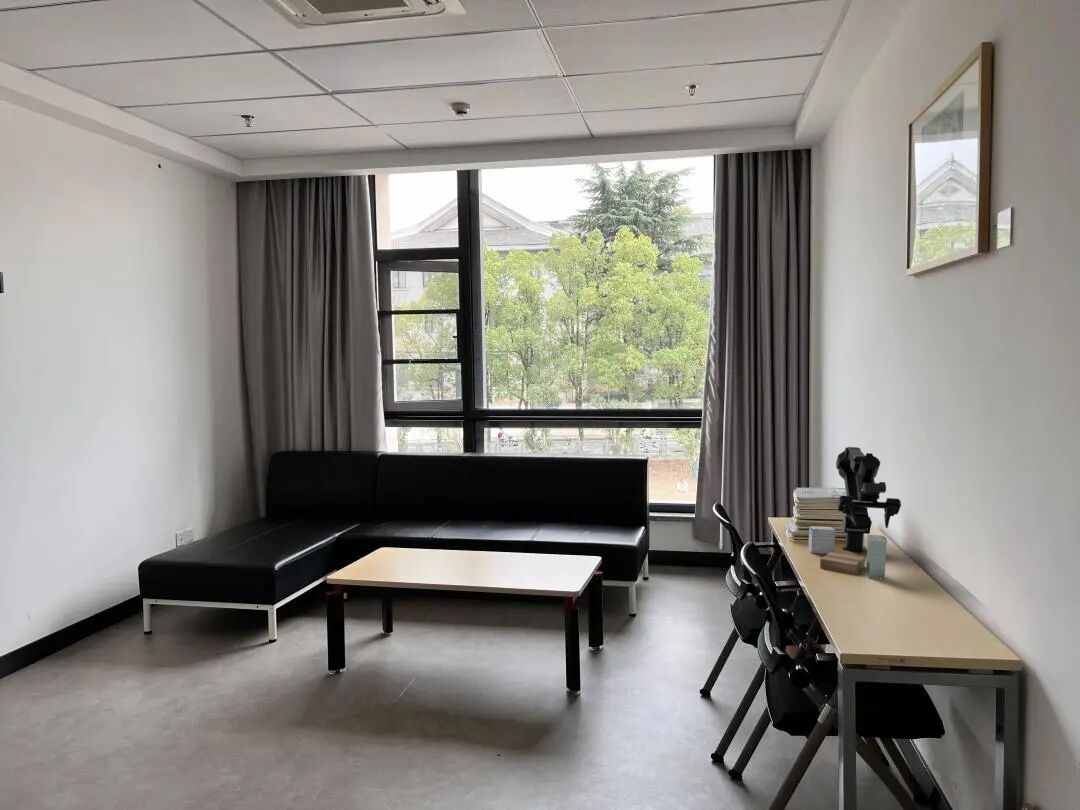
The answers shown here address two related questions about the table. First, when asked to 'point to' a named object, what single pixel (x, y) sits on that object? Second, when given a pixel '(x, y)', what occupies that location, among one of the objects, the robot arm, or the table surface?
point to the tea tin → (876, 556)
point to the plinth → (842, 562)
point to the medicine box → (821, 540)
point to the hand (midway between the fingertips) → (871, 526)
